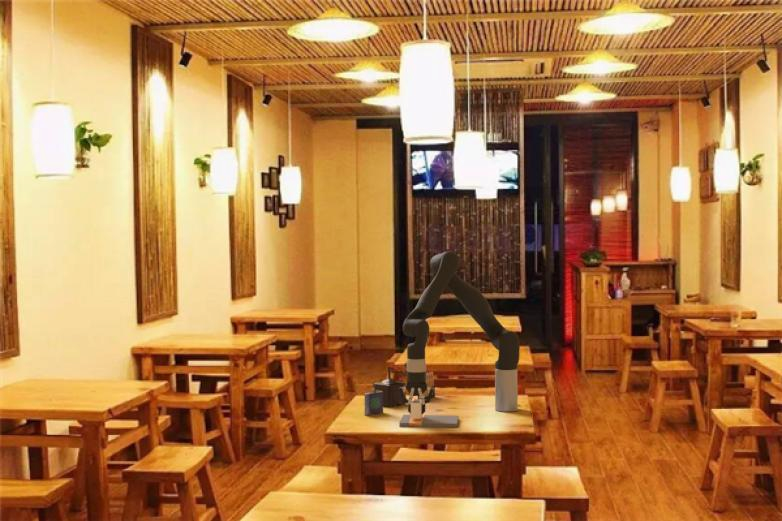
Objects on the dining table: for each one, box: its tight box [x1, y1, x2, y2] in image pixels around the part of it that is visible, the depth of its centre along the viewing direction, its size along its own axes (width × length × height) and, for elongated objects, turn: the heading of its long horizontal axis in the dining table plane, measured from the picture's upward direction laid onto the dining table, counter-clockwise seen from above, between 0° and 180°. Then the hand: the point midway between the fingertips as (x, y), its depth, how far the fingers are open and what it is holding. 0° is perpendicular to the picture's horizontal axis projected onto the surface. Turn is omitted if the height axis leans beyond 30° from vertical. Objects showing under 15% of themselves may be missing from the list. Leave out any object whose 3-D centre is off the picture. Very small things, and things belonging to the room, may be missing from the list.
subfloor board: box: [398, 414, 460, 429], centre depth 365 cm, size 22×15×2 cm
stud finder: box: [410, 398, 424, 419], centre depth 365 cm, size 4×8×6 cm, turn 173°
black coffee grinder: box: [372, 361, 407, 409], centre depth 404 cm, size 16×11×18 cm
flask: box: [363, 387, 384, 417], centre depth 383 cm, size 9×3×11 cm, turn 129°
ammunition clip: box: [417, 370, 436, 400], centre depth 414 cm, size 11×2×12 cm, turn 142°
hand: (416, 413), depth 365 cm, fingers closed on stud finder, 4 cm apart
